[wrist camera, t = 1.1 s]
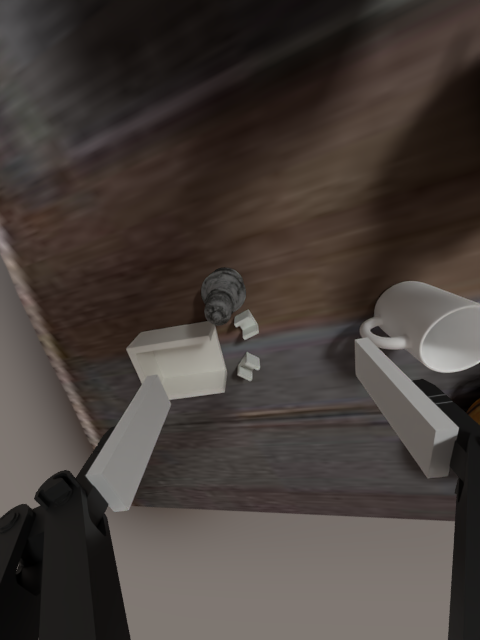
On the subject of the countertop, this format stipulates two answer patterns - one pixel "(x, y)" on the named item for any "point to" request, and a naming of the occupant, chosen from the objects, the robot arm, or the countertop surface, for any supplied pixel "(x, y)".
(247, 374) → the clip
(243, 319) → the clip
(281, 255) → the countertop surface
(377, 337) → the mug
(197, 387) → the end holder
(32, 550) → the robot arm
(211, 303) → the grey tapered rounded piece
